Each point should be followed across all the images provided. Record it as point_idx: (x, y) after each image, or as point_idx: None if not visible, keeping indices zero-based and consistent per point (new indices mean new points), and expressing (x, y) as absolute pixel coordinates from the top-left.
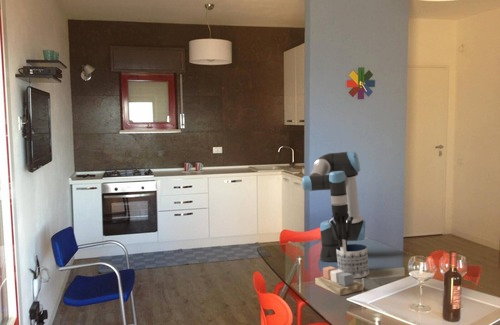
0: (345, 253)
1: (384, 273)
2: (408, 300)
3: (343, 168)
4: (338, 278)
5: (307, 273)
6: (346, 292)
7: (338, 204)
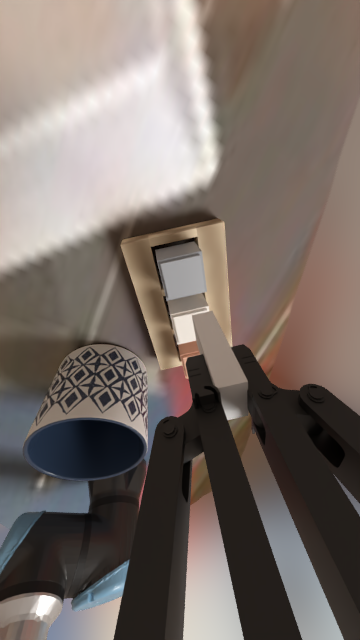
0: (201, 314)
1: (10, 355)
2: None
3: None
4: (195, 299)
5: None
6: (192, 224)
7: None
